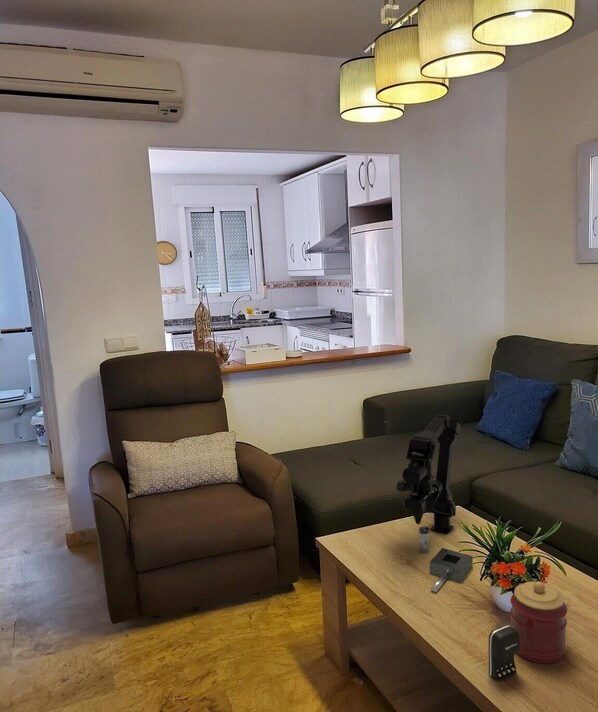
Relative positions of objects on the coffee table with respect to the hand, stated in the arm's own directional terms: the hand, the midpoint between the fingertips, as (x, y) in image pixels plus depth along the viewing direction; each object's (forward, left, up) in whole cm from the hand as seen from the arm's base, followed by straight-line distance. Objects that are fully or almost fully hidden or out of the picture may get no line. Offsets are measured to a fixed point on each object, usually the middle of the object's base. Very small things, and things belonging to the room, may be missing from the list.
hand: (423, 518), depth 192 cm
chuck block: (+11, +12, -12) cm, 20 cm away
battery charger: (+44, +39, -12) cm, 60 cm away
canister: (+30, +43, -12) cm, 54 cm away
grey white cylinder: (0, 0, -12) cm, 12 cm away
